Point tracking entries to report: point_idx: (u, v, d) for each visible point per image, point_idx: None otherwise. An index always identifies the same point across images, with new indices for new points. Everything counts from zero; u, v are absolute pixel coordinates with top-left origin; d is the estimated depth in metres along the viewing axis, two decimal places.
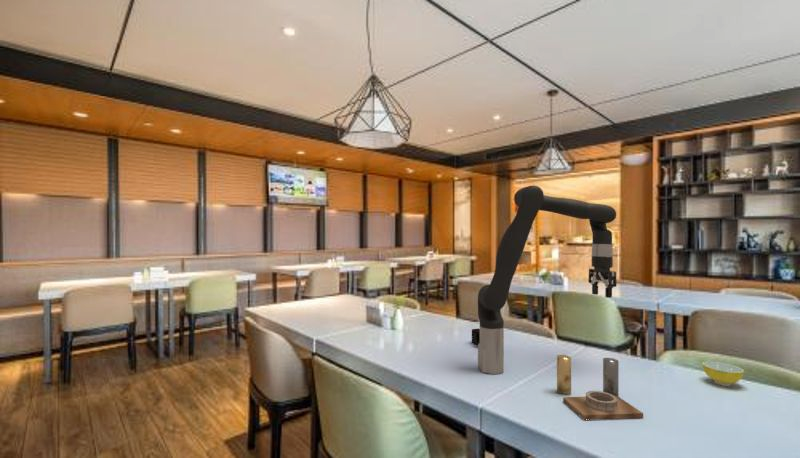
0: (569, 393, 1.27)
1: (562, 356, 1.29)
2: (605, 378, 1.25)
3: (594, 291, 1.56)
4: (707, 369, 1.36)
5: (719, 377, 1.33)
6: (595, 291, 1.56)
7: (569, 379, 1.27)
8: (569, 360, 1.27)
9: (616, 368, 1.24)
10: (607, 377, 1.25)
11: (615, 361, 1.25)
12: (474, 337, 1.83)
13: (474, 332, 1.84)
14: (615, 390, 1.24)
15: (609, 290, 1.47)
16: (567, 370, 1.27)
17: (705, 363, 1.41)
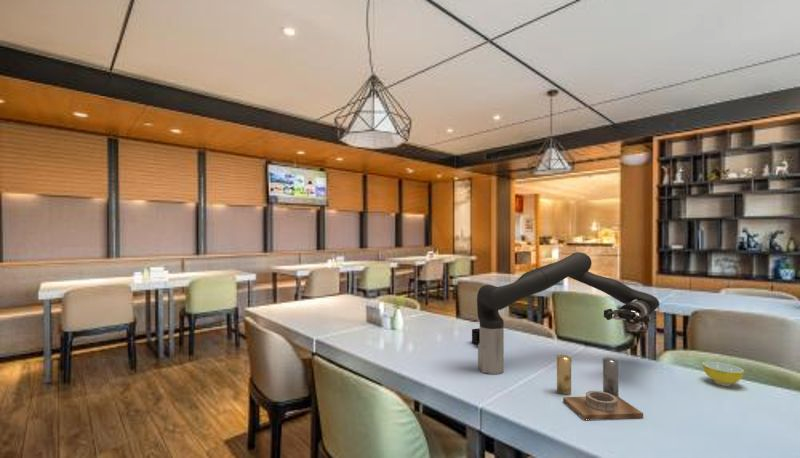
0: (569, 393, 1.27)
1: (562, 356, 1.29)
2: (605, 378, 1.25)
3: (609, 315, 1.38)
4: (707, 369, 1.36)
5: (719, 377, 1.33)
6: (609, 316, 1.38)
7: (569, 379, 1.27)
8: (569, 360, 1.27)
9: (616, 368, 1.24)
10: (607, 377, 1.25)
11: (615, 361, 1.25)
12: (474, 337, 1.83)
13: (474, 332, 1.84)
14: (615, 390, 1.24)
15: (640, 319, 1.32)
16: (567, 370, 1.27)
17: (705, 363, 1.41)
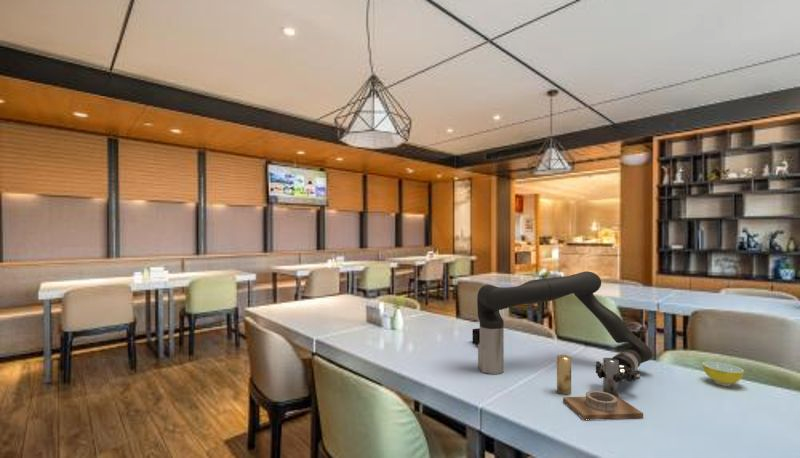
0: (569, 393, 1.27)
1: (562, 356, 1.29)
2: (605, 378, 1.25)
3: (602, 372, 1.26)
4: (707, 369, 1.36)
5: (719, 377, 1.33)
6: (602, 374, 1.27)
7: (569, 379, 1.27)
8: (569, 360, 1.27)
9: (616, 368, 1.24)
10: (607, 376, 1.25)
11: (615, 361, 1.25)
12: (475, 337, 1.84)
13: (474, 331, 1.84)
14: (615, 390, 1.24)
15: (622, 376, 1.23)
16: (567, 370, 1.27)
17: (705, 363, 1.41)
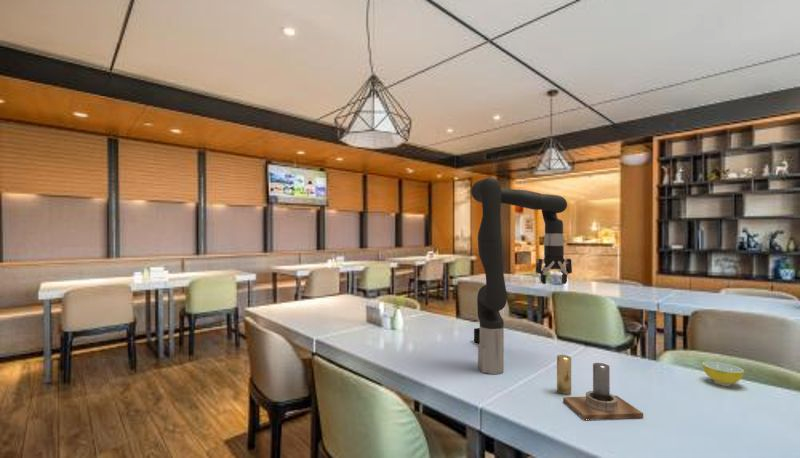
0: (569, 393, 1.27)
1: (562, 356, 1.29)
2: (595, 385, 1.16)
3: None
4: (707, 369, 1.36)
5: (719, 377, 1.33)
6: None
7: (569, 379, 1.27)
8: (569, 360, 1.27)
9: (607, 374, 1.14)
10: (597, 383, 1.15)
11: (606, 366, 1.15)
12: (477, 336, 1.85)
13: (476, 331, 1.85)
14: (606, 398, 1.14)
15: None
16: (567, 370, 1.27)
17: (705, 363, 1.41)
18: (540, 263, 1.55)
